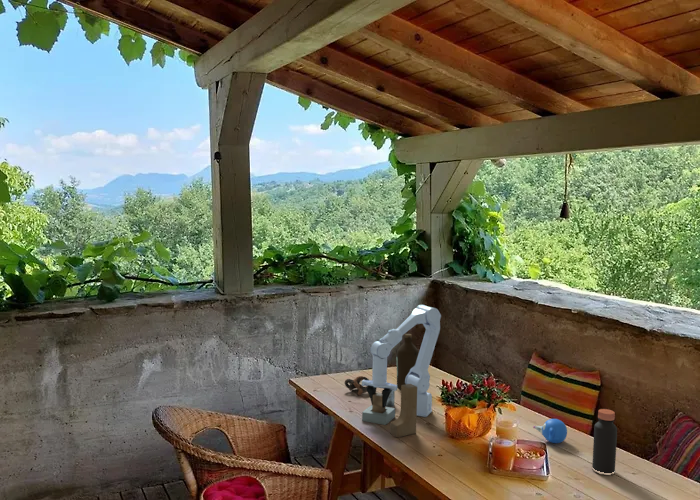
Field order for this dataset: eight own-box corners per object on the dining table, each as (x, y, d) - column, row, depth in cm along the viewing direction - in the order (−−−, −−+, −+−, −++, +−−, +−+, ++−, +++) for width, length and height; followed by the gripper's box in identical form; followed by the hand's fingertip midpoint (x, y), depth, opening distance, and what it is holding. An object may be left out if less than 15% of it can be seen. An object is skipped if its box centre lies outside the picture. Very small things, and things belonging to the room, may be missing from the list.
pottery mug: (367, 389, 279) (373, 376, 274) (366, 404, 270) (372, 391, 266) (342, 382, 278) (347, 370, 273) (341, 397, 270) (345, 384, 265)
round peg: (395, 404, 257) (396, 388, 256) (392, 407, 253) (392, 391, 253) (387, 403, 259) (387, 387, 258) (383, 405, 255) (383, 389, 254)
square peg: (385, 410, 241) (385, 393, 240) (381, 414, 237) (382, 396, 236) (376, 409, 242) (376, 392, 242) (372, 412, 239) (372, 395, 238)
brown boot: (396, 438, 221) (397, 389, 219) (389, 433, 224) (390, 386, 223) (416, 433, 225) (417, 386, 224) (409, 429, 229) (410, 383, 227)
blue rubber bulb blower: (536, 432, 228) (536, 410, 227) (569, 438, 222) (570, 416, 222) (529, 443, 217) (530, 420, 217) (563, 450, 212) (564, 427, 211)
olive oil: (420, 385, 284) (422, 333, 282) (415, 391, 274) (416, 337, 272) (399, 382, 288) (400, 331, 286) (392, 389, 278) (394, 335, 276)
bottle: (595, 465, 200) (598, 406, 199) (617, 471, 196) (620, 411, 194) (589, 471, 195) (592, 411, 193) (611, 478, 191) (614, 416, 189)
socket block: (394, 416, 242) (395, 408, 242) (385, 425, 233) (385, 416, 233) (372, 412, 246) (372, 404, 246) (362, 420, 237) (362, 412, 237)
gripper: (358, 372, 238) (358, 405, 239) (393, 377, 231) (392, 411, 233) (365, 367, 244) (365, 400, 245) (399, 372, 238) (398, 406, 239)
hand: (378, 405), depth 239 cm, fingers closed on square peg, 4 cm apart
